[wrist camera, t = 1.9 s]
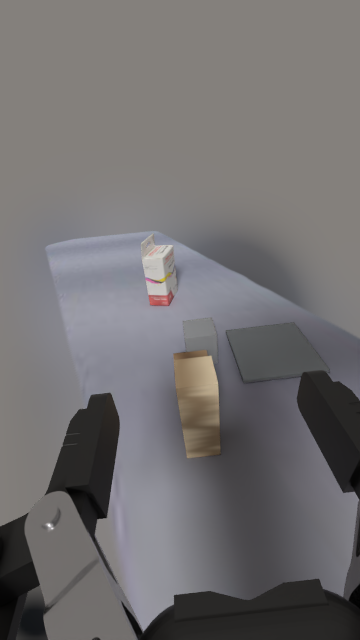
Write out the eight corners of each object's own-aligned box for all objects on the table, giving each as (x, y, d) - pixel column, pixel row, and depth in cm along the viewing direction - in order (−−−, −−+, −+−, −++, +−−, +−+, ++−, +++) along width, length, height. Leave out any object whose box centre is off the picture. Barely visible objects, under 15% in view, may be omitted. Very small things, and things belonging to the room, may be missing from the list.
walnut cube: (207, 373, 43) (206, 349, 40) (213, 398, 39) (211, 373, 36) (177, 377, 43) (173, 353, 40) (178, 402, 39) (175, 377, 36)
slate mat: (293, 324, 51) (293, 322, 51) (329, 373, 41) (330, 370, 40) (225, 333, 51) (225, 330, 51) (243, 383, 41) (243, 380, 40)
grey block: (213, 345, 49) (211, 317, 46) (218, 363, 45) (217, 334, 42) (185, 348, 49) (182, 320, 46) (188, 367, 45) (184, 338, 42)
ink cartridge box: (169, 306, 62) (161, 243, 54) (149, 305, 63) (138, 244, 55) (178, 289, 69) (172, 231, 61) (160, 289, 70) (151, 232, 62)
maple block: (214, 425, 35) (211, 355, 29) (220, 454, 32) (218, 383, 25) (184, 428, 35) (174, 360, 29) (187, 458, 32) (175, 388, 25)
